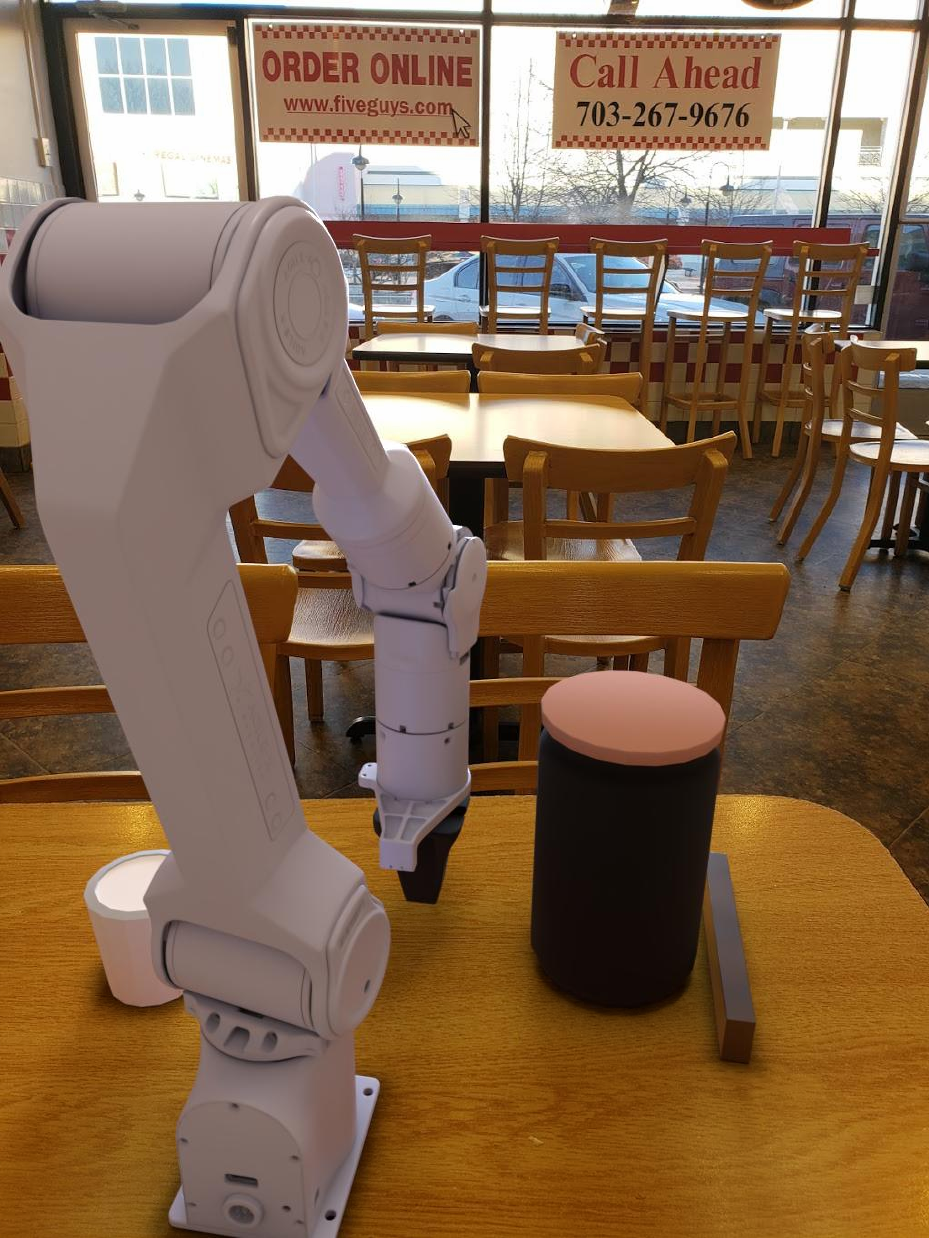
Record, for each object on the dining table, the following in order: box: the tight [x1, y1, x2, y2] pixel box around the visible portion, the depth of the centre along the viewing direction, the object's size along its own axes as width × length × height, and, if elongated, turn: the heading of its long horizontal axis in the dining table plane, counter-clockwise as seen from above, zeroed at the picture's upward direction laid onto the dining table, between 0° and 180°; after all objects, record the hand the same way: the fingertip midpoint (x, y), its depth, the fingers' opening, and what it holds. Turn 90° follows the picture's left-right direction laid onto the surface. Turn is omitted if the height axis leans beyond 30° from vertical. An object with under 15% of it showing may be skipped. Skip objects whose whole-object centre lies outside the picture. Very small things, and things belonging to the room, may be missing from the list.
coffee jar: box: [529, 669, 727, 1009], centre depth 58 cm, size 11×11×18 cm
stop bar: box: [702, 851, 757, 1064], centre depth 60 cm, size 16×2×3 cm, turn 171°
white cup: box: [83, 848, 185, 1008], centre depth 58 cm, size 7×7×7 cm
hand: (422, 896), depth 62 cm, fingers closed
